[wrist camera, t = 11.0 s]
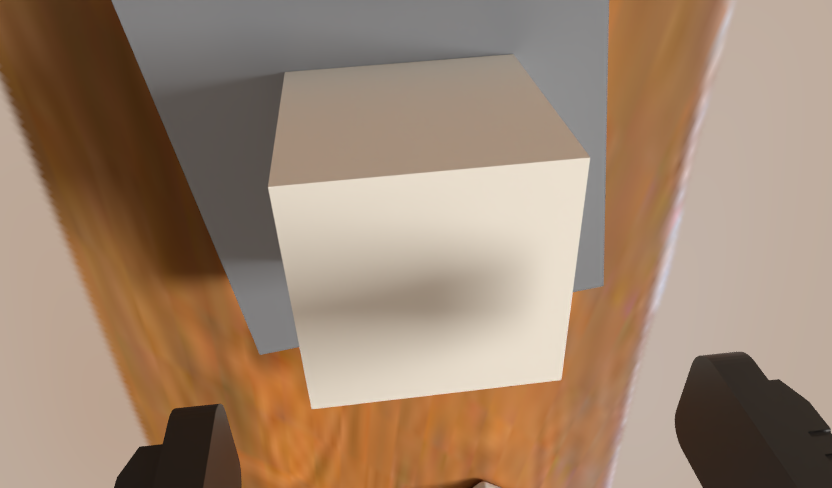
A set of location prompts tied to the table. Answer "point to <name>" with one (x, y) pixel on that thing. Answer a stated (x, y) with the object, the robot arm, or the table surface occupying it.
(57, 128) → the table surface
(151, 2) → the slate block
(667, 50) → the table surface
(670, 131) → the table surface
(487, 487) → the skincare box
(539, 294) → the cream block
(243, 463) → the table surface
